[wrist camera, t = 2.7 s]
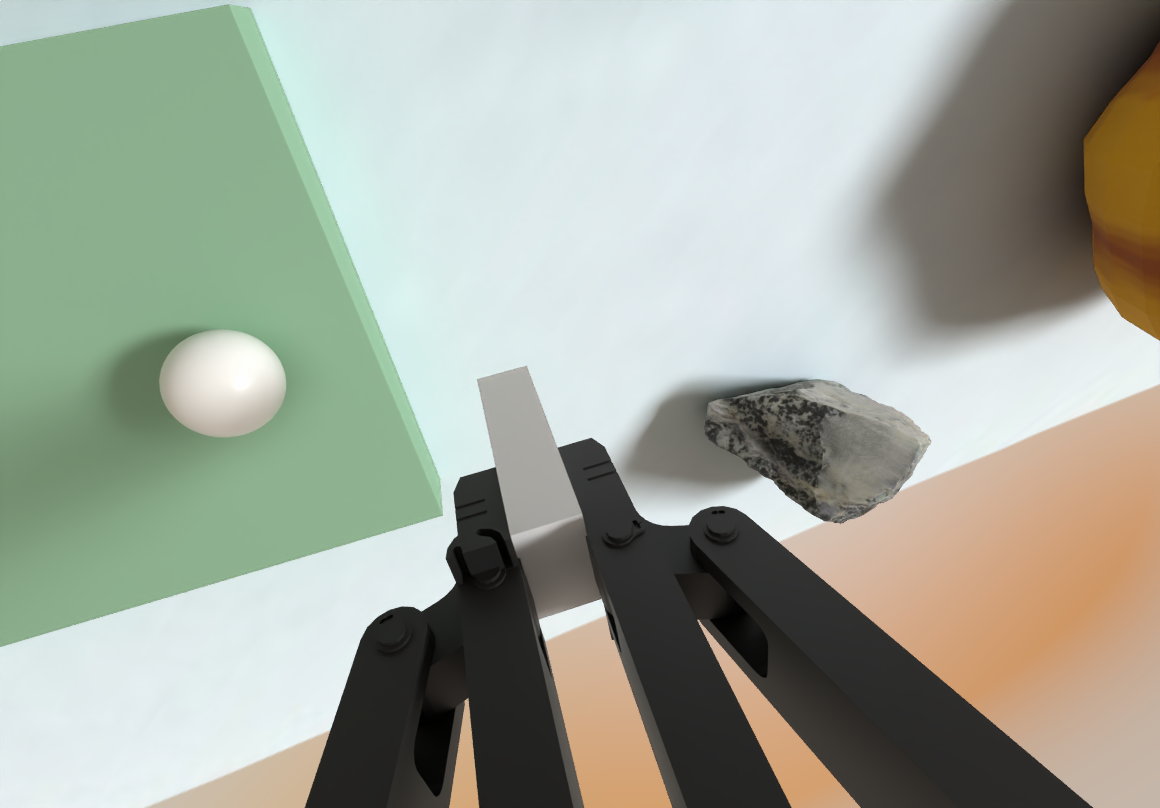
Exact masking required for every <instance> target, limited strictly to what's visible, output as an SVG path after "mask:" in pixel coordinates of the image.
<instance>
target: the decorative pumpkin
mask: <svg viewBox="0 0 1160 808" xmlns="http://www.w3.org/2000/svg"><path fill="white" fill-rule="evenodd" d="M1084 186H1085V197H1086V201H1087V205H1088V209H1089V213H1090V217H1091V221H1092V225H1093V228H1092V242H1093V266H1094V269H1095V272H1096V274H1097V277H1098V280H1099V283H1100V286H1101V288H1102V289H1103V291H1104V292H1105V294H1106V295H1107V296H1108V298H1109V299H1110V301H1111V302H1112V304H1113V305H1114V306H1115V308H1116V309H1117V311H1118V312H1119V314H1120V315H1121V316H1122V318H1124V319H1126V320H1127V321H1129V322H1130V323H1132V324H1134V325H1135V326H1137V327H1139V328H1140V329H1142V330H1143V331H1145V332H1147V333H1148V334H1150V335H1151V336H1153V337H1155V338H1156V339H1158V340H1160V41H1159V42H1158V44H1157V46H1156V47H1155V49H1154V51H1153V53H1152V54H1151V56H1150V57H1149V58H1148V60H1147V61H1146V62H1145V63H1144V64H1143V65H1142V66H1141V67H1140V69H1139V70H1138V71H1137V72H1136V73H1135V74H1134V75H1133V76H1132V78H1131V79H1130V80H1129V81H1128V82H1127V83H1126V84H1125V86H1124V87H1123V88H1122V89H1121V90H1120V91H1119V92H1118V93H1117V95H1116V96H1115V97H1114V98H1113V99H1112V100H1111V102H1110V103H1109V104H1108V106H1107V107H1106V109H1105V110H1104V111H1103V113H1102V114H1101V116H1100V117H1099V118H1098V120H1097V121H1096V123H1095V124H1094V125H1093V127H1092V128H1091V130H1090V131H1089V132H1088V134H1087V135H1086V137H1085V138H1084Z"/></svg>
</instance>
